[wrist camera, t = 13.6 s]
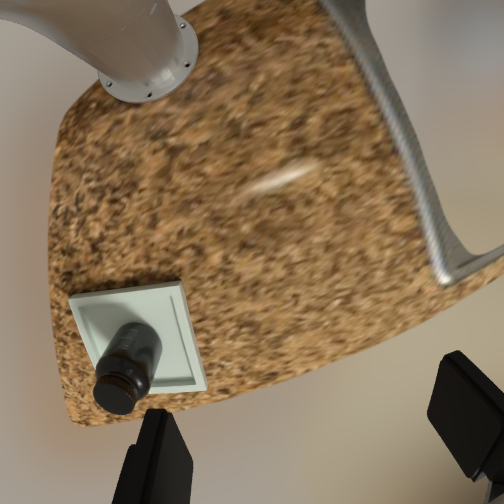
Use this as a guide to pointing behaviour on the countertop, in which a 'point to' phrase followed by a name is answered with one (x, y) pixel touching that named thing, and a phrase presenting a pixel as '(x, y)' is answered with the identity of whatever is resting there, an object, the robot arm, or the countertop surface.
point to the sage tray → (153, 315)
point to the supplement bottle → (127, 368)
